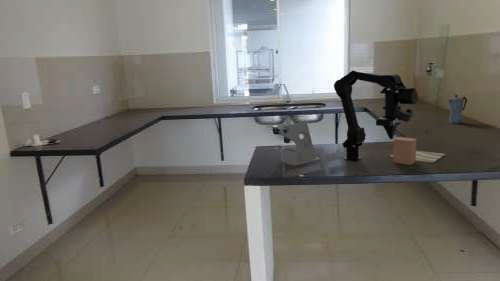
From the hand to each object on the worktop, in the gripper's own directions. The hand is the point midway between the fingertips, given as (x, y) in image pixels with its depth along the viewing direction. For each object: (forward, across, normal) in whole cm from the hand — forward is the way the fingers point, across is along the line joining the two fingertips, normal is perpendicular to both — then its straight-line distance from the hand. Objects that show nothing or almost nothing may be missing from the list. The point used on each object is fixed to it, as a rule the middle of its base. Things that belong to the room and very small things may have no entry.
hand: (391, 139), depth 164 cm
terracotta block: (+13, +10, -2) cm, 16 cm away
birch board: (+12, +24, -3) cm, 27 cm away
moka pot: (+12, +132, +8) cm, 133 cm away
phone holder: (+12, -14, +39) cm, 43 cm away
